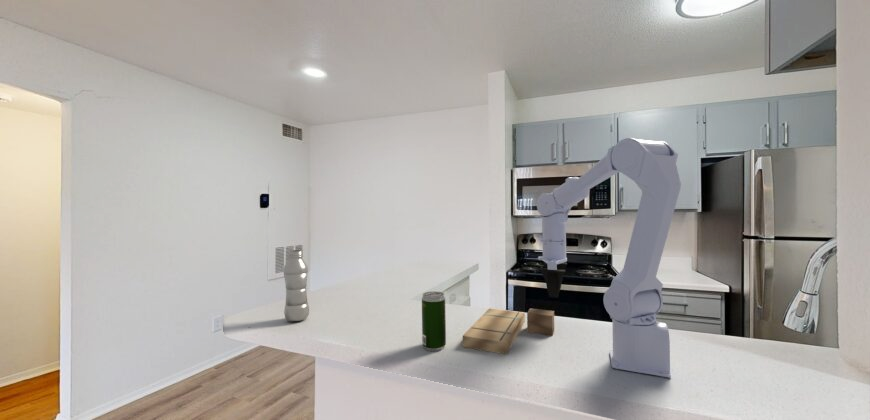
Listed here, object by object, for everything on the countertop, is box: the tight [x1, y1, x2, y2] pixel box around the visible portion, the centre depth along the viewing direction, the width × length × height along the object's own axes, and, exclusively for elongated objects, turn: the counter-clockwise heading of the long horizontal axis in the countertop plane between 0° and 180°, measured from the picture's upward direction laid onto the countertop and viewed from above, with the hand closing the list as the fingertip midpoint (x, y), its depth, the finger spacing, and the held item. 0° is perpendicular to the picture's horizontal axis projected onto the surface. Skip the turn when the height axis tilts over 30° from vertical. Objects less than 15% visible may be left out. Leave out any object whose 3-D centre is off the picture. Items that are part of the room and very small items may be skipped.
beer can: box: [421, 291, 447, 352], centre depth 75 cm, size 5×5×12 cm
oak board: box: [462, 308, 526, 355], centre depth 83 cm, size 10×22×3 cm, turn 155°
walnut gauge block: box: [526, 308, 555, 337], centre depth 84 cm, size 6×4×5 cm, turn 64°
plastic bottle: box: [282, 249, 310, 322], centre depth 95 cm, size 6×7×20 cm
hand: (554, 293), depth 85 cm, fingers open, 7 cm apart
